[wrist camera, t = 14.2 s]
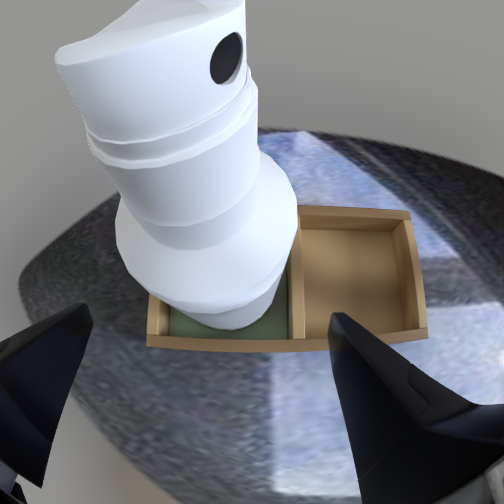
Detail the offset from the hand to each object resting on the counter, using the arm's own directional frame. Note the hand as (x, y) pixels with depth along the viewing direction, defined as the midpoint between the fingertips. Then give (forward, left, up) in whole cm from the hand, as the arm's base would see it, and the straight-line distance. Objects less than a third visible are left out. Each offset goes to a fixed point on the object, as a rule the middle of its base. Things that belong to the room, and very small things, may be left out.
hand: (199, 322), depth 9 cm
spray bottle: (+4, +1, -10) cm, 11 cm away
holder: (+5, -3, -11) cm, 12 cm away
